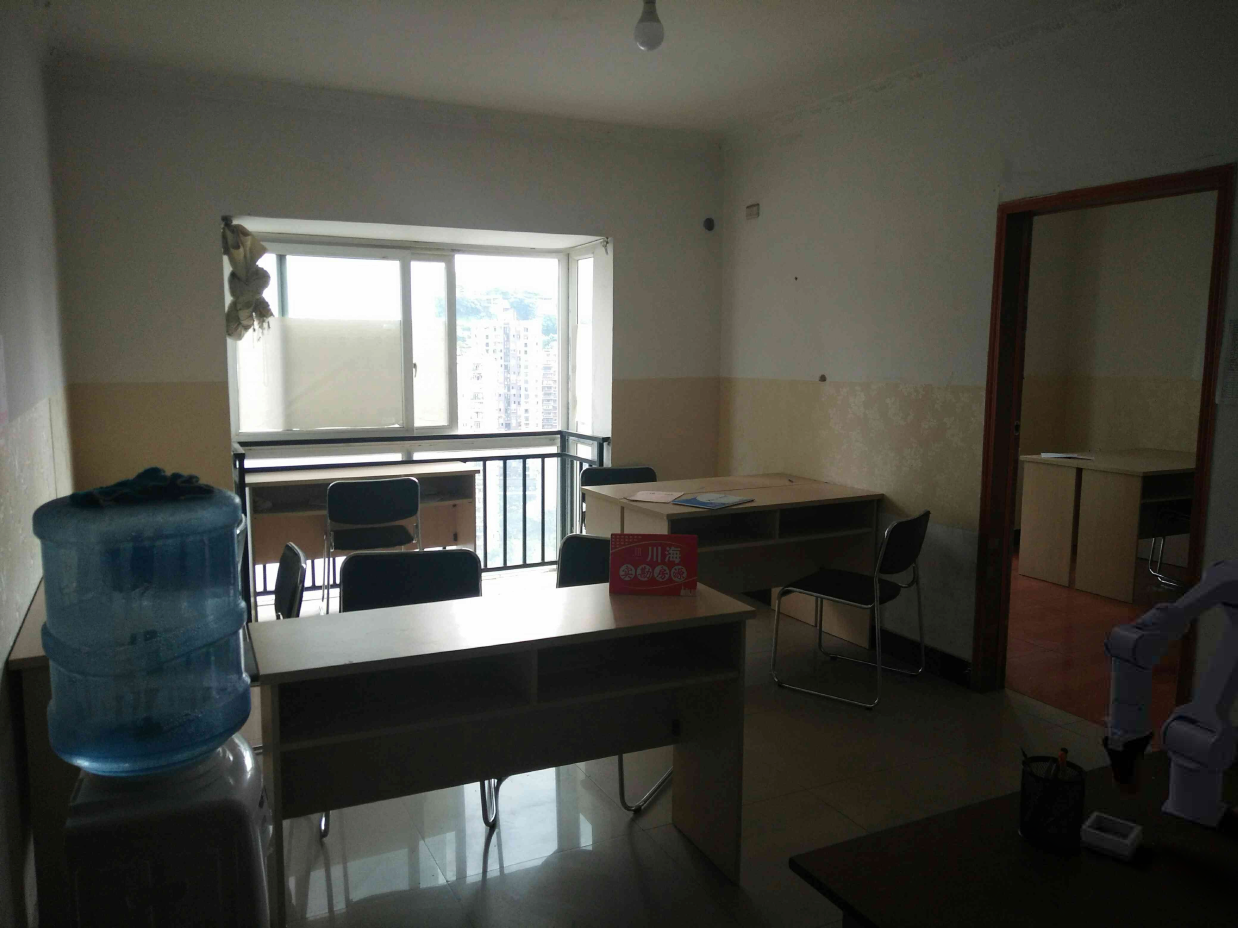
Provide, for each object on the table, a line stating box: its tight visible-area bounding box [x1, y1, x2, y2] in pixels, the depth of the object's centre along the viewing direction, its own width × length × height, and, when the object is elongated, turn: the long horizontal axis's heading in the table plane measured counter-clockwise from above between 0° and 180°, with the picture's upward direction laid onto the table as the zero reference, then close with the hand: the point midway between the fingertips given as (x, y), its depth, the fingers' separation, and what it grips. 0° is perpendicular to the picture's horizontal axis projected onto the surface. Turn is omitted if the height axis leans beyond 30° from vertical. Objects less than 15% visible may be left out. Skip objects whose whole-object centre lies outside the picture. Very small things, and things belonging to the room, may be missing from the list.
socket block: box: [1080, 811, 1143, 863], centre depth 140 cm, size 7×7×3 cm
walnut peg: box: [1111, 744, 1142, 795], centre depth 144 cm, size 4×4×7 cm
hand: (1126, 776), depth 144 cm, fingers closed on walnut peg, 4 cm apart
